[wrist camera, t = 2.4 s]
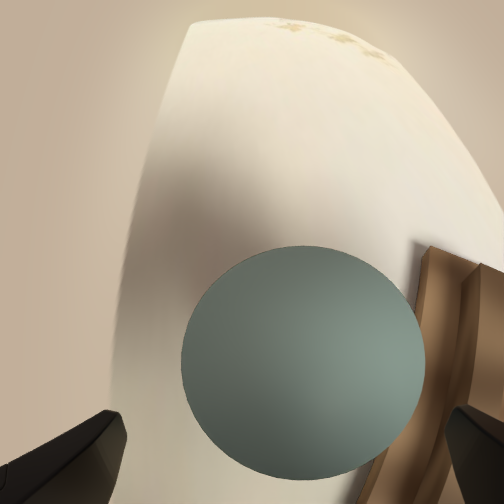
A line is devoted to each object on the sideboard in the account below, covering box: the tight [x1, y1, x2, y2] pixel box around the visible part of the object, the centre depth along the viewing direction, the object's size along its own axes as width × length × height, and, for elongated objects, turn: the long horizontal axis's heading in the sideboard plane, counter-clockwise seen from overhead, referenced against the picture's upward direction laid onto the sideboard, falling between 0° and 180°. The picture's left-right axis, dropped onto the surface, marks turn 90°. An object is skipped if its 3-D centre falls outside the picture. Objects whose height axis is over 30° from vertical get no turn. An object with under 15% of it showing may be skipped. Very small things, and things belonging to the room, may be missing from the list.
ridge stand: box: [356, 246, 504, 504], centre depth 13 cm, size 20×8×4 cm, turn 157°
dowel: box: [181, 246, 425, 480], centre depth 11 cm, size 4×4×12 cm
